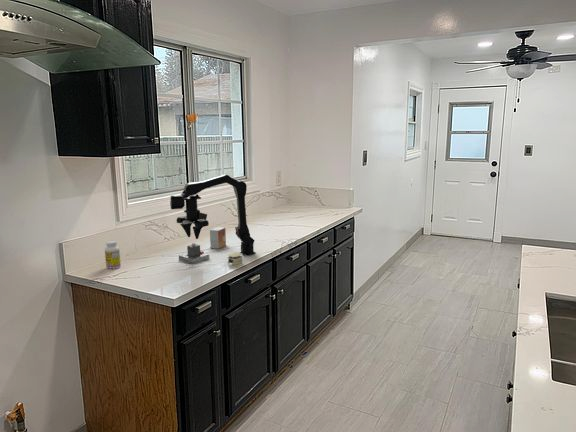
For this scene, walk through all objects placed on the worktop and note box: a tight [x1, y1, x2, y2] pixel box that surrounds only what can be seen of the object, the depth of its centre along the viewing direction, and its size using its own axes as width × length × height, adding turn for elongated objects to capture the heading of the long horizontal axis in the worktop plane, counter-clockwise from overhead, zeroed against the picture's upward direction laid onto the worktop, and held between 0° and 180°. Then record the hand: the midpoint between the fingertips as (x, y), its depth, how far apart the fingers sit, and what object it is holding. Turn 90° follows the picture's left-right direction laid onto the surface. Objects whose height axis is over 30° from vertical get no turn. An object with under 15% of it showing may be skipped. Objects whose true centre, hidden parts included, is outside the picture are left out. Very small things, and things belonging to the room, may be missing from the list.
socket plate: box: [178, 250, 210, 265], centre depth 226 cm, size 11×11×3 cm
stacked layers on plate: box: [227, 252, 244, 268], centre depth 217 cm, size 10×9×6 cm
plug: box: [186, 242, 201, 257], centre depth 225 cm, size 4×5×8 cm
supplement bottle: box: [104, 240, 122, 270], centre depth 213 cm, size 7×7×13 cm
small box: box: [209, 226, 227, 249], centre depth 249 cm, size 8×6×10 cm
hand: (193, 237), depth 224 cm, fingers open, 6 cm apart
